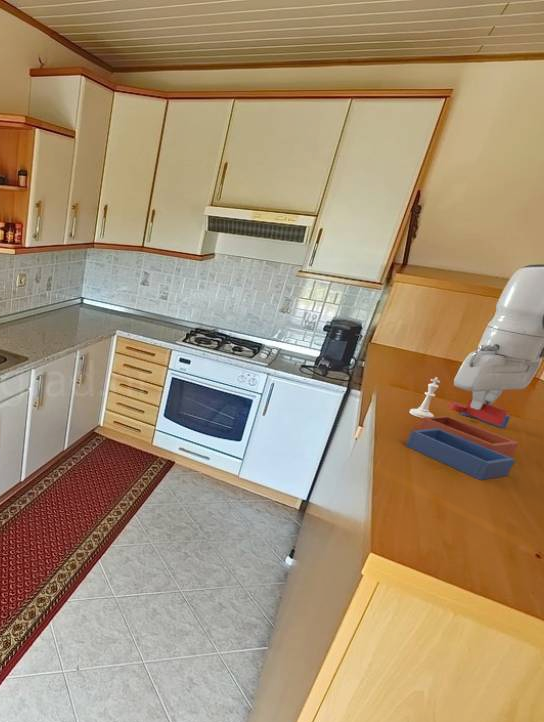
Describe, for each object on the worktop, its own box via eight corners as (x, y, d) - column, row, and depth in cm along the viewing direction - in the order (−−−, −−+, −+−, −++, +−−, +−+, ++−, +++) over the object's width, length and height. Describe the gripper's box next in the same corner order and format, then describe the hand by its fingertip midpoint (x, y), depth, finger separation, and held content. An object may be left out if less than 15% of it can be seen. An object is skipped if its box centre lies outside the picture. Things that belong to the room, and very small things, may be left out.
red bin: (511, 457, 101) (518, 442, 100) (487, 461, 98) (494, 445, 97) (440, 429, 113) (446, 415, 112) (417, 431, 110) (423, 417, 108)
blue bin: (507, 475, 92) (515, 459, 91) (480, 480, 89) (489, 463, 88) (431, 442, 104) (437, 428, 103) (405, 445, 101) (411, 430, 100)
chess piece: (407, 409, 124) (422, 372, 120) (430, 414, 122) (446, 377, 119) (411, 415, 120) (427, 377, 116) (435, 421, 118) (452, 382, 114)
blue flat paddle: (507, 427, 119) (513, 415, 118) (499, 428, 118) (505, 416, 117) (464, 412, 127) (469, 400, 126) (456, 412, 126) (461, 401, 125)
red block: (504, 424, 100) (511, 410, 99) (495, 425, 99) (502, 411, 97) (454, 406, 108) (460, 393, 107) (444, 407, 107) (450, 393, 106)
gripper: (498, 349, 91) (467, 417, 96) (555, 350, 99) (524, 412, 103) (460, 340, 96) (432, 404, 101) (517, 341, 104) (489, 400, 109)
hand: (479, 408), depth 102 cm, fingers closed on red block
